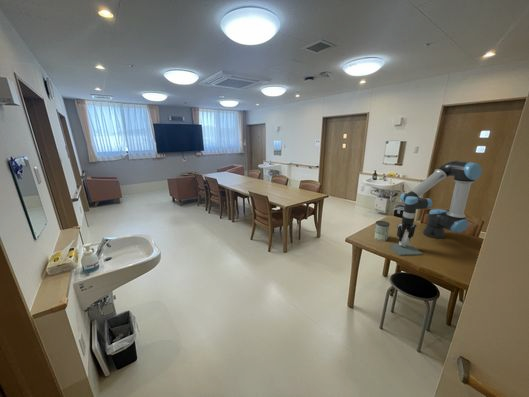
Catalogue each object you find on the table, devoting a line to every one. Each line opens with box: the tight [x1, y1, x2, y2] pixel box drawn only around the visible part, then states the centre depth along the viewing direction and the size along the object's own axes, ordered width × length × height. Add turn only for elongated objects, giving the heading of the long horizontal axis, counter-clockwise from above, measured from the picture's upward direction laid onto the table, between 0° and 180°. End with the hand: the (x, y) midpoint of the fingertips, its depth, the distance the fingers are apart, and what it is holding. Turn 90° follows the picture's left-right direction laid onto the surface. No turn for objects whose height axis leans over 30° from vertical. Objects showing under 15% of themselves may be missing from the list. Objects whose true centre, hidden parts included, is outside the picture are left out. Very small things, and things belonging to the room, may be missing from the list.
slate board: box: [388, 243, 423, 257], centre depth 163 cm, size 17×14×1 cm
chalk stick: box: [402, 230, 409, 247], centre depth 164 cm, size 4×4×12 cm
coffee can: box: [373, 220, 391, 242], centre depth 181 cm, size 10×10×14 cm
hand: (403, 244), depth 166 cm, fingers closed on chalk stick, 4 cm apart
